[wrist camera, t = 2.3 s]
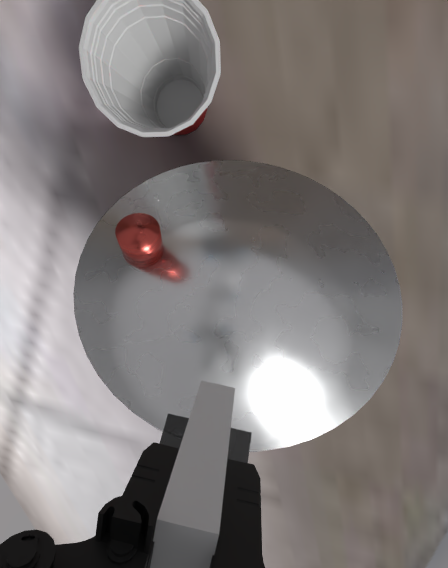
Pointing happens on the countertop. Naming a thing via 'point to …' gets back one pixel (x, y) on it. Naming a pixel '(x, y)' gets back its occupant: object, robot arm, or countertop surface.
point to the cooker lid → (238, 302)
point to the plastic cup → (150, 64)
